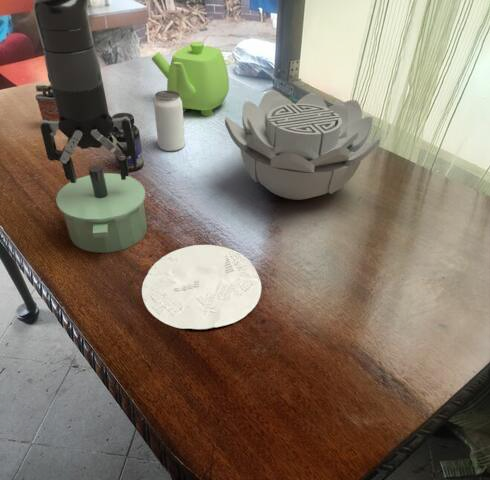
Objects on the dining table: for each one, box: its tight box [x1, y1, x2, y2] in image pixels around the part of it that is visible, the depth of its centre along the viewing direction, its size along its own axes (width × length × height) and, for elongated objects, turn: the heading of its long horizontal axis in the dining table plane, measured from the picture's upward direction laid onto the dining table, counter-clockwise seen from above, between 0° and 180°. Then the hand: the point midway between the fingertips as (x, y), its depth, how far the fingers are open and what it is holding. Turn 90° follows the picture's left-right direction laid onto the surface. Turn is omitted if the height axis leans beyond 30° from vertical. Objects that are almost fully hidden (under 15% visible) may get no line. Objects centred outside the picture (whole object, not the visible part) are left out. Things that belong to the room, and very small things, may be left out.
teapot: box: [151, 41, 230, 117], centre depth 123 cm, size 25×22×16 cm
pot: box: [61, 200, 148, 254], centre depth 85 cm, size 15×20×7 cm
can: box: [153, 89, 186, 152], centre depth 107 cm, size 6×6×12 cm
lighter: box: [34, 83, 60, 121], centre depth 114 cm, size 8×3×10 cm, turn 94°
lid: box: [55, 164, 146, 221], centre depth 80 cm, size 16×16×6 cm
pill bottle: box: [111, 112, 145, 172], centre depth 100 cm, size 6×6×11 cm
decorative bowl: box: [224, 89, 382, 201], centre depth 96 cm, size 30×30×15 cm
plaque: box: [141, 244, 262, 330], centre depth 76 cm, size 20×20×2 cm
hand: (98, 179), depth 80 cm, fingers open, 8 cm apart
